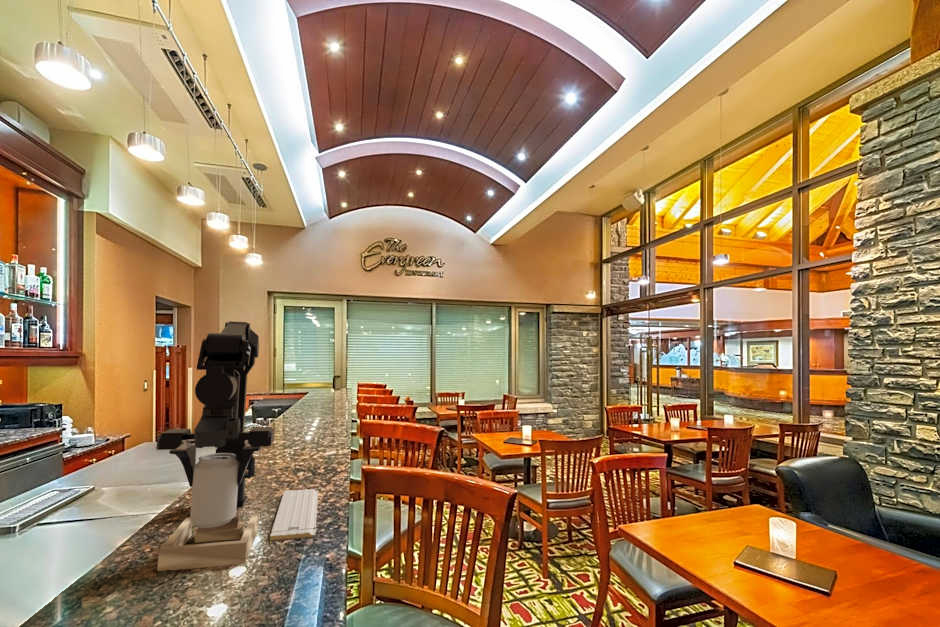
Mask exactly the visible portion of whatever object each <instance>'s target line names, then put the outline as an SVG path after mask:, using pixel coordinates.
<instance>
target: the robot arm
mask: <svg viewBox="0 0 940 627" xmlns="http://www.w3.org/2000/svg"><path fill="white" fill-rule="evenodd" d="M199 350H200V351H199V353H198V359H197V364H196V371H198V370H199V371H205V374H204V375H203V376H202V377H200V378H199V379H198V381H197V383H196V385H195V387H194V393H195V397H196V399H197V400H198V401H199V403H201V404H203V408H202V414H201V417H200V419H199V420H198V423H196V426H195V427H194V429H193V431H194V432H192V430H191V428H169V429H168V430H165V431H163V432H161V433H160V434H159V435H158V437H157V439H156V451H157V450H158V451H166V450H169V452H168V453H169V454H170V455H175V456H176V457H177V458H178V459H179V461H180V463H181V464H182V466H183V469H184V471H185V475H186V476H185V477H186V479H187V481H188V485H189V487H191V488H192V485H193V472H194V466H195V465H196V464H197V463H196V462H197V456H196V455H197V449H203V448H210V447H211V448H216V449H215V453H232V454H235V455H236V458H235V459H236V460H237V461H238V462H239V473H238V493H237V507H244V505H245V504H246V501H247V500H248V496H247V495H245V489H246V488H245V487H246V479H251V478H252V477H255V472H256V458H255V457H254V454H255V452H258V451H260V450H261V449H262V448H264V447H271V446H272V445H273V443H274V442H275V429H274V428H273V427H272V426H254V427H252V428H251V429H249V431H245V423H246V422H245V421H246V419H245V418H246V402H247V388H248V386H247V385H248V374H249V373H250V371H252V368H253V367H254V366H255V364H256V358H259V353H260V339H259V335H258V334H257V333H256V332H255V331H254V330H252V329H251V323H249V322H246V321H228V322H225V325H224V328H223V329H222V331H220V332H209V333H207V335H206V338H203V339H202V341H201V345H200V349H199Z"/></svg>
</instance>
